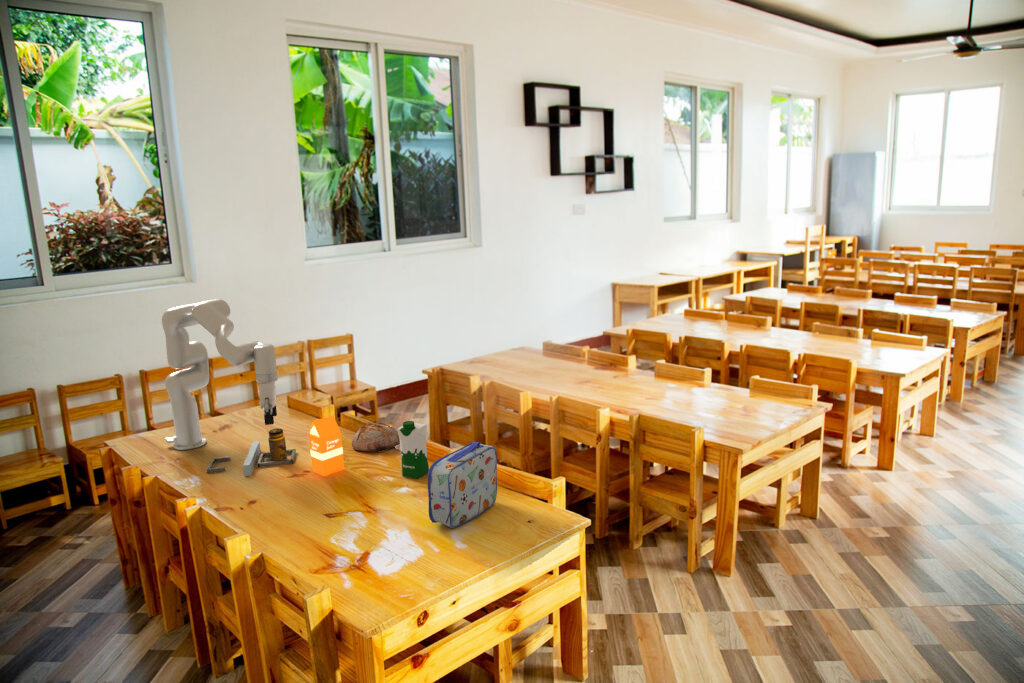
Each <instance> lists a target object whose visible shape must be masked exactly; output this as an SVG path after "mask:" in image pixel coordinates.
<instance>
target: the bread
mask: <svg viewBox="0 0 1024 683" xmlns="http://www.w3.org/2000/svg"><path fill="white" fill-rule="evenodd" d="M385 426H388V427H385ZM390 426H391V425H389V424H385V423H382V422H368V423H366V424H365V425H363V426H360V427H359V429H358V430H357V431H356V433H355V434H354V436H353V437H352V439H351V447H352V448H353V449H354V450H355V451H361V452H368V453H381V452H384V451H387V450H389V449H392V448H395V447H396V446H398V445H400V439H399V435H398V431H397V429H396V428H395V427H393V426H391V427H390Z"/></svg>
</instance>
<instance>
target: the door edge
mask: <svg viewBox="0 0 1024 683" xmlns="http://www.w3.org/2000/svg"><path fill="white" fill-rule="evenodd" d="M261 450H262V449H261V443H260V441H259V440H258V441H252V443H251V446H250V448H249V451H248V453H247V456H246V458H245V460H244V462H243V465H242V469H243V470H242V471H243V476H244V477H247V476H252V474H253V472H254V469H255V466H256V465H257V462H258V460H259V457H260V454H261Z"/></svg>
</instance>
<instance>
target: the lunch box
mask: <svg viewBox="0 0 1024 683" xmlns="http://www.w3.org/2000/svg"><path fill="white" fill-rule="evenodd" d="M497 466H498V454H497V449H496V448H495V446H493V445H487V444H483V443H481V442H480V441H473V442H470V443H467V444H466V445H464V446H463V447H461V448H459V449H457V450H455V451H451V452H450V453H448V454H446V455H443V456H442V457H440V458H439V459H437V460H435V461H434V462H433V463H432V464H431V466H429V471H428V473H427V494H428V495H427V496H428V517H429V520H430V521H431V522H432V523H433V524H437V523H439V524H442V525H444V526H447V527H449V528H451V529H455V528H457V527H459V526H461V525H463V524H465V523H467V522H468V521H470V520H472V519H474V518H477V517H479V516H480V515H481V514H482V513H483V512H485V511H486V510H488V509H489V508H491V507H492V506H493V505H494V504H495V502H496V499H497V494H498V475H497V474H498V472H497V469H498V467H497Z"/></svg>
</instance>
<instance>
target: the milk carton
mask: <svg viewBox="0 0 1024 683" xmlns="http://www.w3.org/2000/svg"><path fill="white" fill-rule="evenodd" d="M427 426H428V424H427V423H420V422H418V423H417V422H415V421H413V420H408V421H407V420H406V421H403V422H402V425H401V426H399V427H398V428H397V429H396V431H397V432H398V435H399V439H400V444H399V447H400V460H401V476H403V478H404V477H405V478H409V477H411V478H410V479H415V478H417V479H416V480H419V478H420V479H421V478H423V476H426V475H428V471H429V468H430V466H429V460H428V451H427V450H428V448H427Z"/></svg>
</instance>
